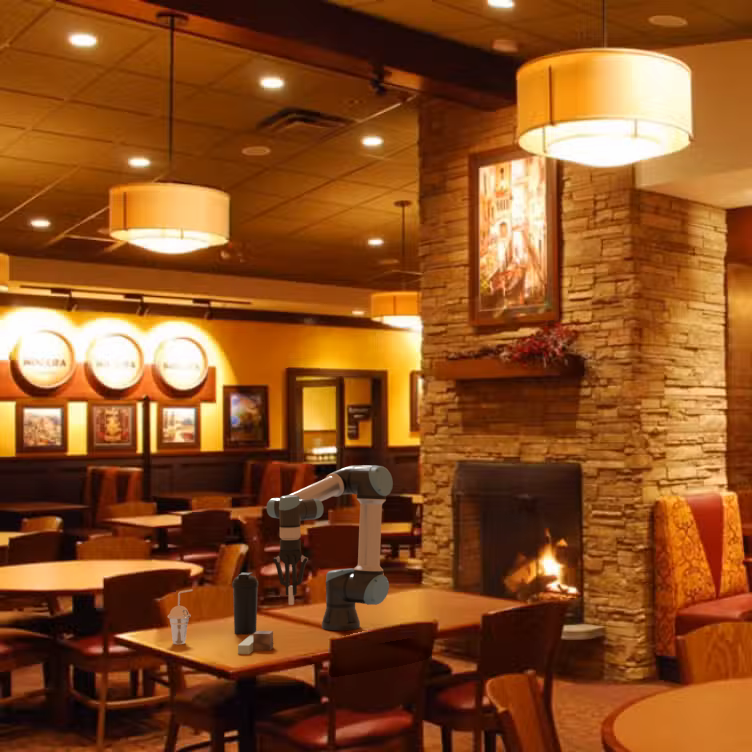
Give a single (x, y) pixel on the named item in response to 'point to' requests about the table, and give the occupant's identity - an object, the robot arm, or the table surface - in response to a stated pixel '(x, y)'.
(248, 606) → the water bottle
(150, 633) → the table surface
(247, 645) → the cream rectangular bar
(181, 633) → the cup with straw
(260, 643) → the block
